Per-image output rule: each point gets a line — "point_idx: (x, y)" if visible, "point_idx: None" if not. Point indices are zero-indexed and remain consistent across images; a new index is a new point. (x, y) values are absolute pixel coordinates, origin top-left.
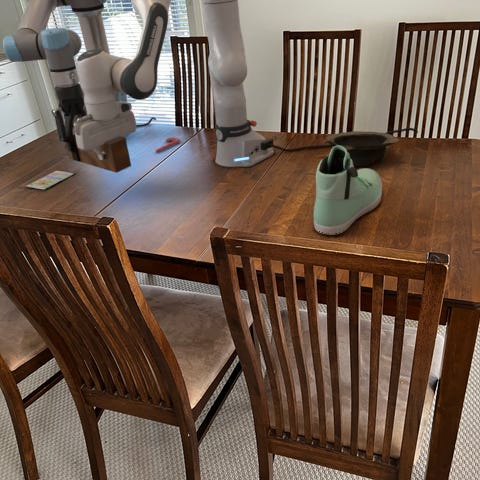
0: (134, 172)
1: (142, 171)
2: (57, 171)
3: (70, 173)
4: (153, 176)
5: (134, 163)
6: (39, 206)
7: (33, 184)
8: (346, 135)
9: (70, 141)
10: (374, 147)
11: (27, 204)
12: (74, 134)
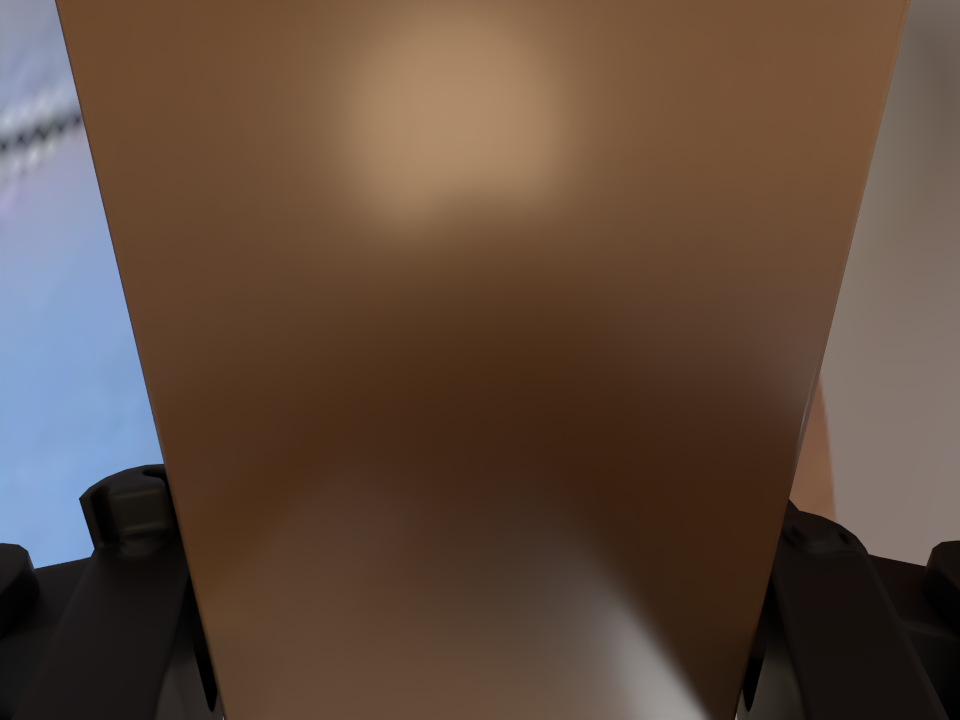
0: (91, 261)
1: (32, 216)
2: None
3: None
4: (11, 34)
5: (5, 393)
6: (815, 405)
7: None
8: None
9: (820, 527)
10: None
11: (817, 489)
12: (724, 624)
